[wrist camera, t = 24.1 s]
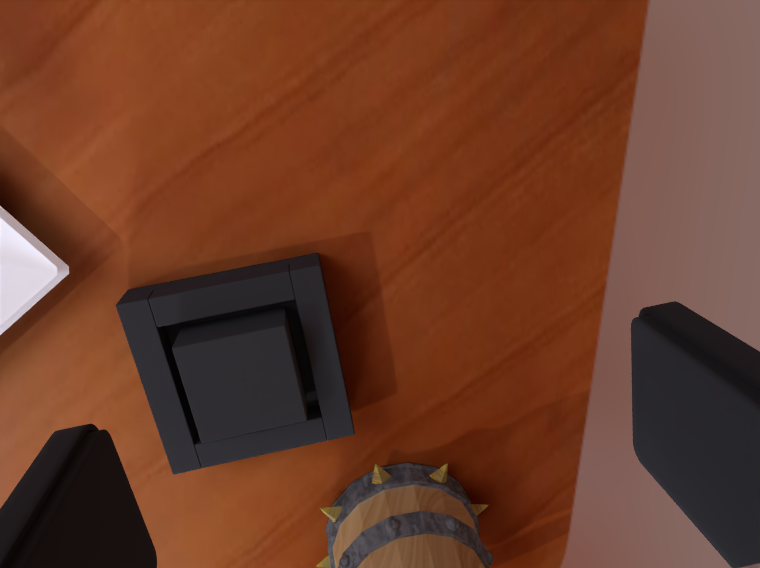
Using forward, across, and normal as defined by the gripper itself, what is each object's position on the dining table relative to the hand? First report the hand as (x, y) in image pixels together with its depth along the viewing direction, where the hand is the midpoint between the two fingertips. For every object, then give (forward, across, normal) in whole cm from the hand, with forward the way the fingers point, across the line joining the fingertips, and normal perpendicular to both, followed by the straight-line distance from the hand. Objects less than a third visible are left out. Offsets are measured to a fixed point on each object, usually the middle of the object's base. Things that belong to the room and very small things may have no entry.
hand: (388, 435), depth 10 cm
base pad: (+24, +7, +9) cm, 27 cm away
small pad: (+23, +7, +9) cm, 26 cm away
